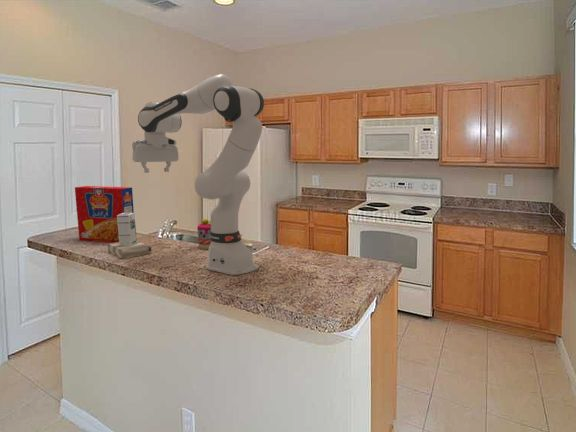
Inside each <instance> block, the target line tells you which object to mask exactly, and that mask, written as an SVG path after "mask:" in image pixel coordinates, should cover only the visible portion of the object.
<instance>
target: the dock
mask: <svg viewBox="0 0 576 432" xmlns="http://www.w3.org/2000/svg"><path fill="white" fill-rule="evenodd" d="M107 251H108V253H109V254H111V255H114V256H116V257H118V258H120V259H122V260H124V259H129V258H135V257H139V256H146V255H150V252H152V247H151V246H149V244H145V243H143V242H140V241H138V240H137V243H136V244H134V245H132V246H120V244H119V242H116V243H107Z"/></svg>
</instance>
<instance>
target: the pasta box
mask: <svg viewBox="0 0 576 432" xmlns="http://www.w3.org/2000/svg"><path fill="white" fill-rule="evenodd" d="M74 193H75V194H74V195H75V205H76V217H77V225H78V226H77V228H78V240H79V241H81V242H91V243H92V242H93V243H94V242H95V243H107V244H109V243H116V242H119V233H118V222H117V215H119V214H122V213H134V214H135V211H134V197H133V196H134V195H133V187H129V186H128V187H126V186H103V185H101V186H95V185H85V186H74Z"/></svg>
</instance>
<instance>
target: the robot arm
mask: <svg viewBox="0 0 576 432" xmlns="http://www.w3.org/2000/svg"><path fill="white" fill-rule="evenodd" d="M264 106H265V99H264V97H263V95H262V94H261V93H260V92H259V91H258V90H257V89H253V88H249V87H244V86H240V85H239V86H237V85H235V84H234V81H232V79H231V78H230V77H229V76H228V75H226V74H224V73H218V74H216V75H213V76H210V77H208V78H206V79H204V80H203V81H201V82H199V83H198V84H196V85H194V86H192V87H191V88H189V89H186V90H185V91H182V92H180V93H178V94H175V95H173V96H171V97H168V98H166V99H165V100H163V101H161V102H159V101H150V102H147V103H146V104H144V107H143V108H142V109H141V110H140V111H139V113H138V115H137V122H138V125H139V126H140V128H141V129H142V131H144V135H143V136H144V140H143V139H141V140H138V139H135V141H133V142H132V144H131V145H132V146H131V147H132V160H133V162H135V163H140V165H141V166H142V168H143V172H144V173H150V168H148V167H147V163H155V162H156V163H158V162H159V163H161V162H162V163H163V162H165V164H166V167H164V169H163V171H164V172H165V173H168V172H170V167H171V165H172V162H178V160H179V149H178V147H177V140H176V139H173V138H170V137H167V136H166V133H167V134H169V133H171V134H172V133H177V132H179V130H181V127H182V120H183V119H182V116H181V115H180V114H193V115H194V114H195V115H196V114H199V115H203V114H208V113H210V112H213V111H216V112H217V113H218V114H219V115H220V116H221V117H222V118H224V120H225V121H226V122H228V123H232V128H231V130H230V133H229V135H228V138H227V140H226V142H225V145H224V146H223V148H222V151H221V152H220V154H219V155H218V157H217V158H216V159H215V160H214V162H212V164H211V165H210V166H209V167H208V168H207V169H205V171H203V172H201V173H198V175H197V176H196V178H195V180H194V189H195V192H196V194H197V195H198V196H199V198H202V199H208V200H216V199H218V202H217V204H216V206H215V207H214V208H213V209H212V210H211V212H210V220H211V231H210V240H211V244H210V247H209V249H207V251H208V252H207V264H206V265H205V269H206V270H210V271H213V272H218V273H221V274H222V273H223V274H226V275H230V276H237V275H244V274H248V273H251V272H254V271H256V270H258V269H260V266H259V264H256V262H254V257H253V254H252V252H251V250H250V249H249V248H248V247H247V246H246V245H245V243H243V241H242V237H243V234H241V233H240V230H239V212H240V207H241V204H242V201H243V199H244V197H245V195H246V194H247V193H248V191H249V190H250V187H251V179H250V176H249V174H248V173H247V172H245V171H244V170H245V169H246V168H247V167H248V166H249V163H250V162H251V159H252V158H253V156H254V153H255V151H256V149H257V146H258V144H259V142H260V139H261V135H262V131H263V123H262V121H261V120H260V119H259V118H258V117H256V116H258V115H260V114H261V113H262V112H263V111H264ZM164 172H163V173H164Z"/></svg>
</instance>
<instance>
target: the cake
mask: <svg viewBox="0 0 576 432" xmlns="http://www.w3.org/2000/svg"><path fill="white" fill-rule="evenodd" d="M210 231H211V219H210V220H209V219H208V218H203V219H202V220H201V223H199V224H198V225H197V236H198V238H197V241H198V248H199V249H200V250H209V247H210V244H211V240H210Z"/></svg>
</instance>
